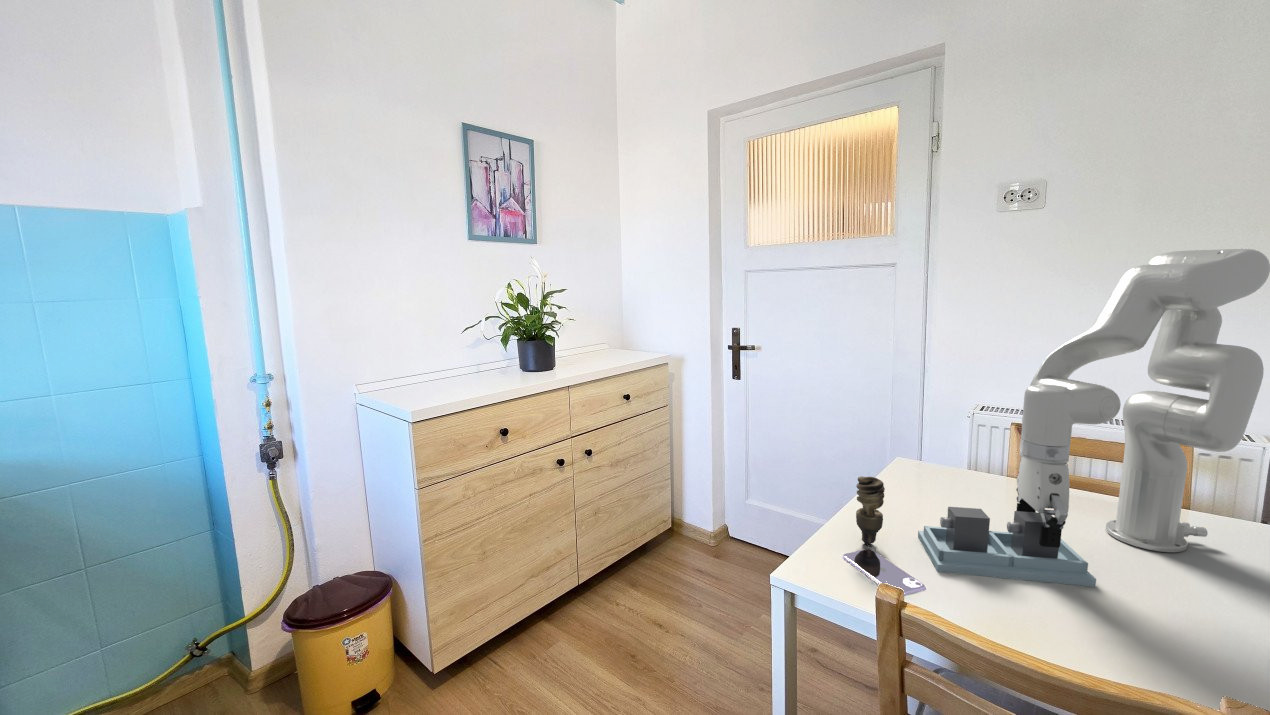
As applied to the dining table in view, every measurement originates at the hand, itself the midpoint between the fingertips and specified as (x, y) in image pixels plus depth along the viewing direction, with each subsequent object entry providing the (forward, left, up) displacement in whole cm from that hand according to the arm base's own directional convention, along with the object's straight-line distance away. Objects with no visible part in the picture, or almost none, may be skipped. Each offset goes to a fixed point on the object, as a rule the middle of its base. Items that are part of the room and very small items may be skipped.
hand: (1036, 533), depth 105 cm
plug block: (0, 0, -5) cm, 5 cm away
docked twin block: (+13, 0, -4) cm, 14 cm away
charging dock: (+6, 0, -6) cm, 9 cm away
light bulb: (+30, -2, -6) cm, 31 cm away
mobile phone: (+30, +9, -7) cm, 32 cm away
